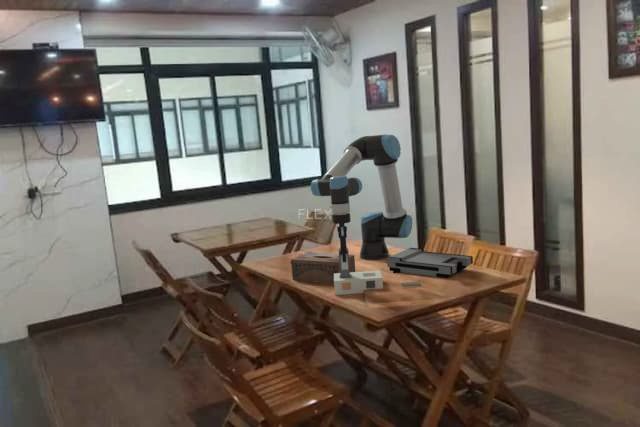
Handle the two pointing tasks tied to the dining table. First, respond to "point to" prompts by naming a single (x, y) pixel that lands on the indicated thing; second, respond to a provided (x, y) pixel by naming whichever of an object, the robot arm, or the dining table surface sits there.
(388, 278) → the dining table surface
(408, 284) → the plate
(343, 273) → the plug
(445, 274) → the office tray
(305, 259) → the tissue box cover
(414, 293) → the dining table surface
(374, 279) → the socket block
